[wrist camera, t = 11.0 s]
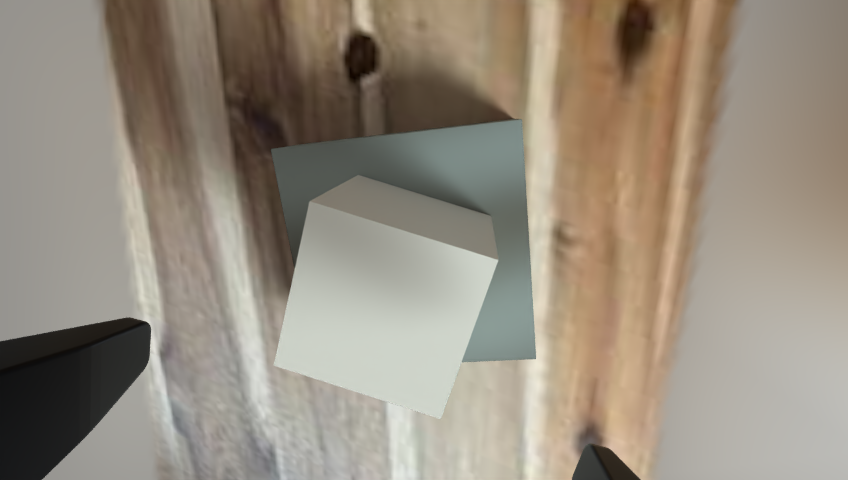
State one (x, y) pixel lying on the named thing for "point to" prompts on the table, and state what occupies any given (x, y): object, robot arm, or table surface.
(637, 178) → the table surface
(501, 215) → the slate block
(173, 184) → the table surface
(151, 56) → the table surface
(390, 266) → the cream block
